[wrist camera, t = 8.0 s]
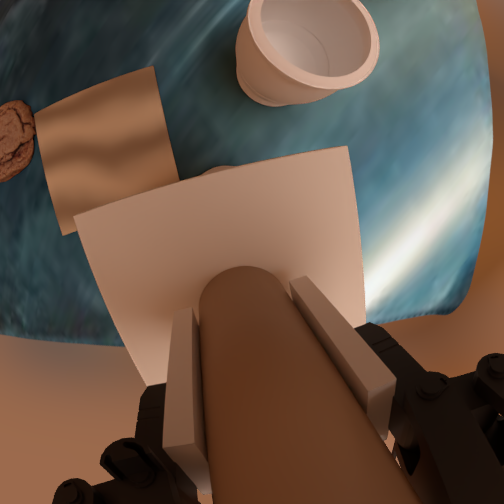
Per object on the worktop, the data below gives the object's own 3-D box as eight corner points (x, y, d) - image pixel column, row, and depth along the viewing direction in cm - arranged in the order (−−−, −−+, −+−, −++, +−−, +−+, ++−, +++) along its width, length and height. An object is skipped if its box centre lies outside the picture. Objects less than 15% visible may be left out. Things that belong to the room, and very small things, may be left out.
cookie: (44, 98, 26) (33, 95, 23) (34, 182, 29) (22, 184, 26) (-8, 104, 24) (-21, 102, 21) (-17, 180, 27) (-30, 183, 24)
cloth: (35, 114, 26) (33, 114, 26) (153, 66, 28) (153, 65, 27) (64, 234, 32) (62, 235, 31) (184, 196, 33) (183, 197, 33)
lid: (79, 212, 12) (-139, 375, 1) (339, 146, 13) (613, 172, 2) (167, 409, 16) (171, 596, 4) (360, 355, 17) (472, 502, 6)
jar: (325, 103, 32) (398, 78, 18) (245, 127, 32) (280, 104, 18) (294, 28, 29) (347, -30, 15) (214, 47, 28) (226, -19, 14)
